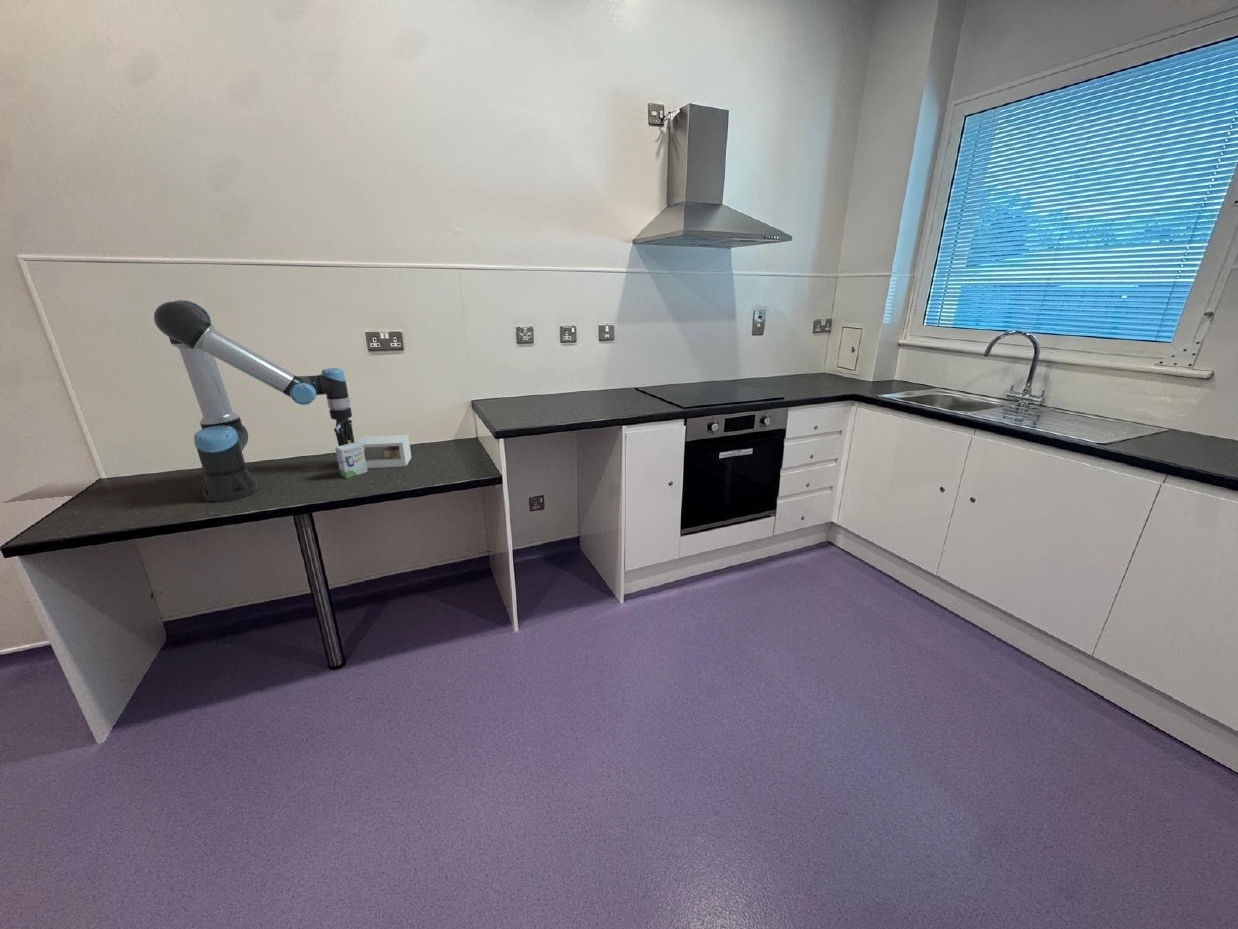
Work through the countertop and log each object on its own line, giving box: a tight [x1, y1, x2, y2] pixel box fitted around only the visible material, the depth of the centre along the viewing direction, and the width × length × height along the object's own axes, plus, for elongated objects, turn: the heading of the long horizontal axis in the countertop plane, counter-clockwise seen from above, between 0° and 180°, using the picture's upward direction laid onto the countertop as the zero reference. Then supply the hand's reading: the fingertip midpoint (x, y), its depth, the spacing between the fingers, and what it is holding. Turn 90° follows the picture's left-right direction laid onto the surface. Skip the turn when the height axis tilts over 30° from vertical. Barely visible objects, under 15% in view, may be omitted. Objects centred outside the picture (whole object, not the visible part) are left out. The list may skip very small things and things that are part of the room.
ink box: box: [335, 441, 368, 479], centre depth 192 cm, size 9×5×12 cm, turn 143°
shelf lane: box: [356, 434, 412, 469], centre depth 204 cm, size 18×11×10 cm, turn 101°
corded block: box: [348, 440, 401, 459], centre depth 203 cm, size 22×6×10 cm, turn 101°
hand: (350, 463), depth 203 cm, fingers closed on corded block, 3 cm apart
